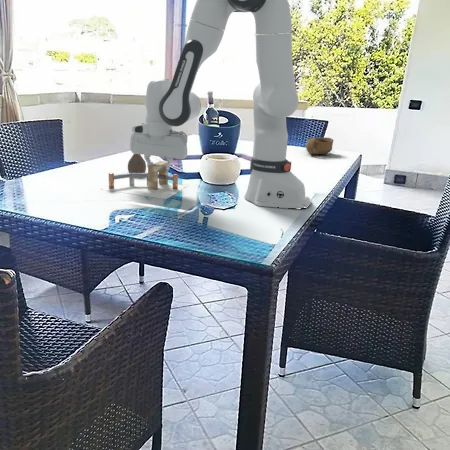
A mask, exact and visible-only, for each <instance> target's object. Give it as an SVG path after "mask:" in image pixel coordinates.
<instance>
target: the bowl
mask: <svg viewBox="0 0 450 450" xmlns="http://www.w3.org/2000/svg"><path fill="white" fill-rule="evenodd" d="M333 144H334V138H331V137H321V136H319V137H315V136H314V137H309V138H307V139H306V143H305V148H306V150H307V152H308V153H309V154H310V155H319V154H322V155H326V154H328V153H330V152H331V151H332V150H333Z"/></svg>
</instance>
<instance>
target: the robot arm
mask: <svg viewBox="0 0 450 450" xmlns="http://www.w3.org/2000/svg"><path fill="white" fill-rule="evenodd" d="M233 13H251V14H252V15H253V17H254V24H255V58H256V59H255V60H256V61H255V62H256V66H257V70H258V75H259V83H258V84H257V86H255V88H254V90H253V94H252V95H253V96H252V99H253V101H252V102H253V127H254V128H253V130H254V132H253V133H254V134H253V148H252V156H251V159H250V166H249V172H250V176H249V182H248V185H247V189H246V191H245V195H244V199H245V200H247V201H249V202H251V203H253V204H254V205H255V206H259V207H265V208H266V207H268V208H277V207H279V208H280V209H288V208H304V207H307V206H308V205H309V204H310V203H312V199H311V198H310V197H309V196H307V195H306V188H305V185H304V182H303V181H302V180H301V179H299V178H298V177H297V176H296V175H295V174H294V173H292V171H291V170H292V161H290V160H288V159H287V149H288V142H289V141H288V140H289V133H288V129H287V128H288V127H287V118H288V117H290V116H292V115H293V114H294V113H295V112H296V111H297V109H298V106H299V96H298V93H297V88H296V78H295V73H294V65H293V46H292V45H293V44H292V43H293V37H292V36H293V34H292V32H293V30H292V29H293V28H292V27H293V26H292V25H293V23H292V15H291V14H292V13H291V8H290V4H289V0H196V2H195V5H194V7H193V10H192V13H191V15H190V16H191V17H190V21H189V22H188V23H189V24H188V28H187V31H186V35H185V40H184V44H183V45H182V46H183V47H182V49H181V50H182V51H181V54H180V56H179V60H178V62H177V65H176V68H175V72H174V74H173V77H172V80H171V79H169V78H164V79H163V78H162V79H154V80H151V81H150V82H148V84H147V87H146V92H145V93H146V95H145V96H146V97H145V108H146V116H145V122H143V123H140V124H136V125H133V126H132V128H131V130H132V132H133V133H132V134H131V136H130V140H129V141H130V144H129V148H130V149H129V150H130V151H131V153H132V154H134V153H136V154H140V155H143V156H144V158H143V159H144V161H145V163H147V164H146V168H148V166H150V165H152V164H154V162H152V160H151V159H150V158H151V156H152V157H153V156H154V157H161V158H166V162H167V164H165V165H164V170H168V171H170V170H171V169H170V168H171V164H172V163H173V161H174V159H177V160H184V159H185V158H187V156H188V145H187V144H188V135H187V133H185V132H184V131H182V130H173V127H180V126H183V125H184V124H185V123H186V122H190V121H191V120H194V119H195V118H197V117H198V115H199V114H200V111H201V110H202V104H201V100H200V99H199V97H198V96H197V94H196V93H194V92H192V89H193V86H194V83H195V80H196V77H197V74H198V72H199V69H200V67H201V66H202V65H203V63H204V62H205V61H207V60H208V59H209V58H210V57H211V56H212V55H213V54H215V53H216V52H217V50H218V48H219V46H220V45H221V43H222V40H223V36H224V34H225V30H226V26H227V23H228V21H229V18H230V16H231V14H233Z"/></svg>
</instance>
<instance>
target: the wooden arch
mask: <svg viewBox="0 0 450 450" xmlns="http://www.w3.org/2000/svg"><path fill="white" fill-rule="evenodd" d="M167 162H168V161H167V160H166V161H164V160H159V161H157V162H153V164H152V165H150V166H148V167H147V173H148V189H152V190H157V189H158V181H159V184H168V183H169V180H166V179H159V178H158V174H161V175H168V176H169V170H164V165H165V164H167Z"/></svg>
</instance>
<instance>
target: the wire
mask: <svg viewBox="0 0 450 450" xmlns="http://www.w3.org/2000/svg"><path fill="white" fill-rule="evenodd" d="M125 178H129V184H130V185H134V178H146V180H147V185H148V172H145V173H129V172H126V173H118V174H115V173H114V172H109V173H108V186H109V188H110V189H113V188H114V183H115V180H119V179H120V180H122V179H125ZM159 179H166V180H168V181H172V183H173V189H178V184H179V174H177V173H173V174H172V175H169V174H168V175H161V174H159V173H158V180H159Z"/></svg>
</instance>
